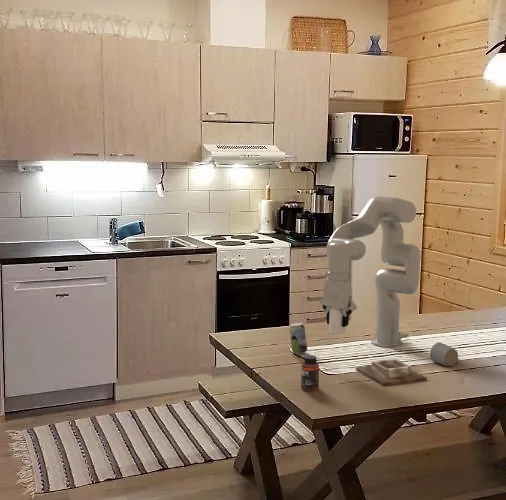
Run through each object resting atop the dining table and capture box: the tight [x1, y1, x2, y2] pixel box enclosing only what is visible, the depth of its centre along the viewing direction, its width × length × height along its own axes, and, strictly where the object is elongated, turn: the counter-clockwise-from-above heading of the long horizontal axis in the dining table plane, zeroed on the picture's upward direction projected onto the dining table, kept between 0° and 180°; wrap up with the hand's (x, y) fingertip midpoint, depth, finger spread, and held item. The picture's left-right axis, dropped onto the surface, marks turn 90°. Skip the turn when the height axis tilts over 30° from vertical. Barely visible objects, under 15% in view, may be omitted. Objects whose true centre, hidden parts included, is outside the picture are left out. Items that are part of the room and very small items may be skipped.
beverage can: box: [288, 322, 308, 355], centre depth 274 cm, size 6×7×12 cm
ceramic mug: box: [429, 342, 461, 367], centre depth 264 cm, size 11×8×8 cm
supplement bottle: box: [300, 354, 320, 392], centre depth 234 cm, size 6×6×11 cm
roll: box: [328, 307, 346, 335], centre depth 253 cm, size 6×12×6 cm
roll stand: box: [355, 358, 427, 387], centre depth 250 cm, size 18×18×4 cm
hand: (337, 324), depth 253 cm, fingers closed on roll, 5 cm apart
